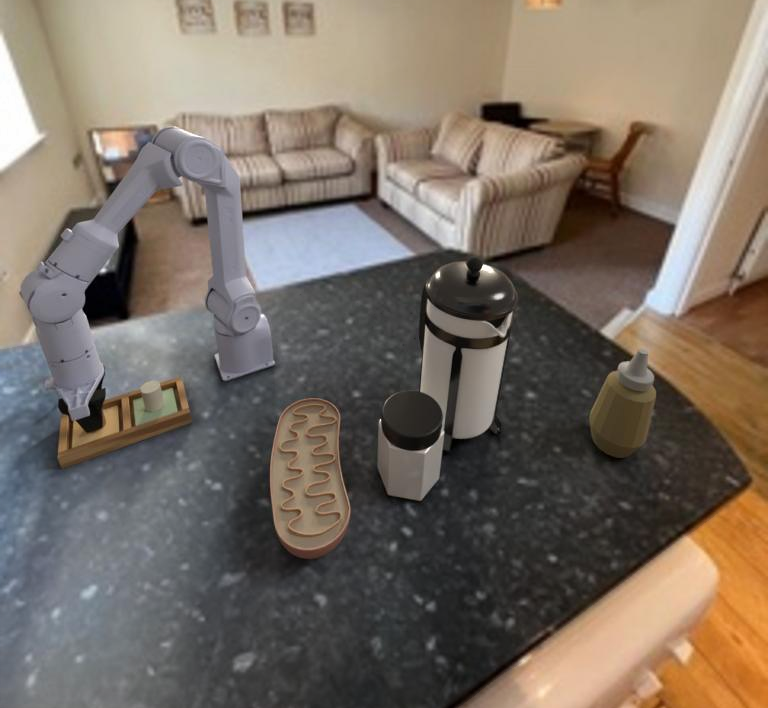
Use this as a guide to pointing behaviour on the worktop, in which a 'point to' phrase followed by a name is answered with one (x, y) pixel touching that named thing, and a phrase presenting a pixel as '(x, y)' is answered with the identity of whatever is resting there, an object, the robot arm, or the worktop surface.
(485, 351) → the coffee press
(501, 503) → the worktop surface
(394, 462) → the jar
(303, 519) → the anatomical model
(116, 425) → the sand pad
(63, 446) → the divided wooden tray
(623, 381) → the squeeze bottle
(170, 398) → the sage pad
